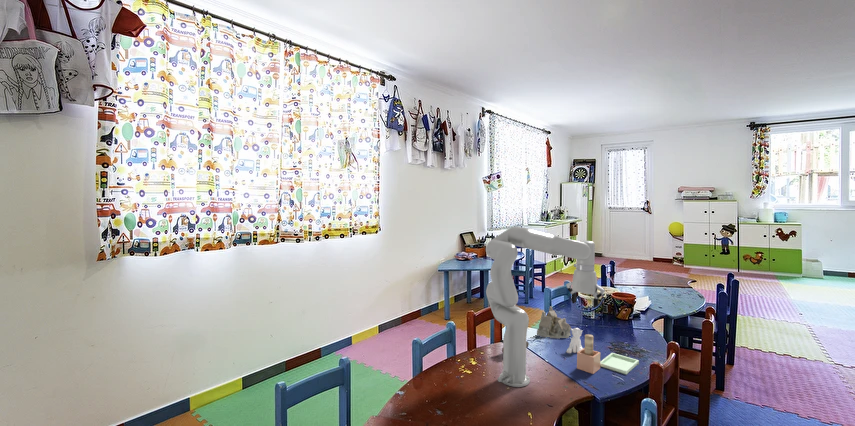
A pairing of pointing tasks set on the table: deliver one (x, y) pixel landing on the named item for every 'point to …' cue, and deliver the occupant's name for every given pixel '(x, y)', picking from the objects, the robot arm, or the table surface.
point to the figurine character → (526, 344)
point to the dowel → (589, 345)
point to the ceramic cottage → (553, 326)
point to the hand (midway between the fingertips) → (584, 304)
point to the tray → (619, 363)
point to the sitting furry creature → (575, 341)
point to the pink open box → (588, 361)
